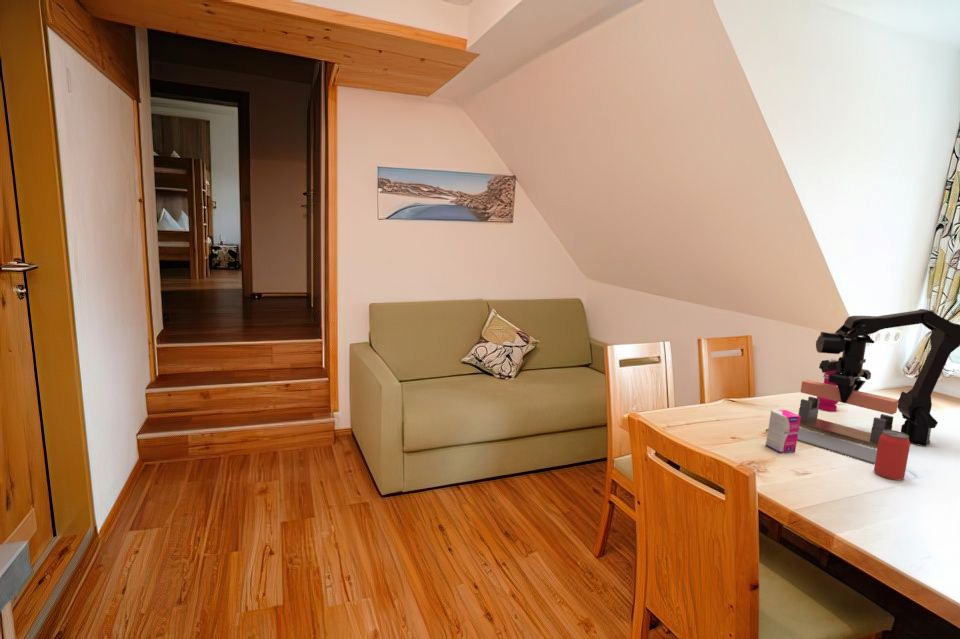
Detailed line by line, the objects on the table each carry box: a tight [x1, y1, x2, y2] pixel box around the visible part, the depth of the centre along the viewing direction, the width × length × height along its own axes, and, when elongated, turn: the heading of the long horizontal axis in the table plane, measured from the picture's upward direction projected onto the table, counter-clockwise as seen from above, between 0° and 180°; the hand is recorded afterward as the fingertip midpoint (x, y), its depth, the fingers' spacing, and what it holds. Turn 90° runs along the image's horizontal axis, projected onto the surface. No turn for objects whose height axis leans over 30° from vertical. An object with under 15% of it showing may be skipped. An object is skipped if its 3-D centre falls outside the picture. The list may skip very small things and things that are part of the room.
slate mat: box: [765, 427, 877, 465], centre depth 165 cm, size 30×12×1 cm, turn 37°
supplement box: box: [765, 409, 801, 454], centre depth 158 cm, size 6×6×12 cm
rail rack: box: [797, 396, 894, 449], centre depth 173 cm, size 28×10×9 cm, turn 37°
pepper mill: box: [816, 357, 839, 412], centre depth 199 cm, size 7×7×20 cm
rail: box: [800, 379, 899, 415], centre depth 172 cm, size 26×4×4 cm, turn 37°
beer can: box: [873, 429, 911, 481], centre depth 142 cm, size 7×7×12 cm
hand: (845, 401), depth 172 cm, fingers closed on rail, 4 cm apart
